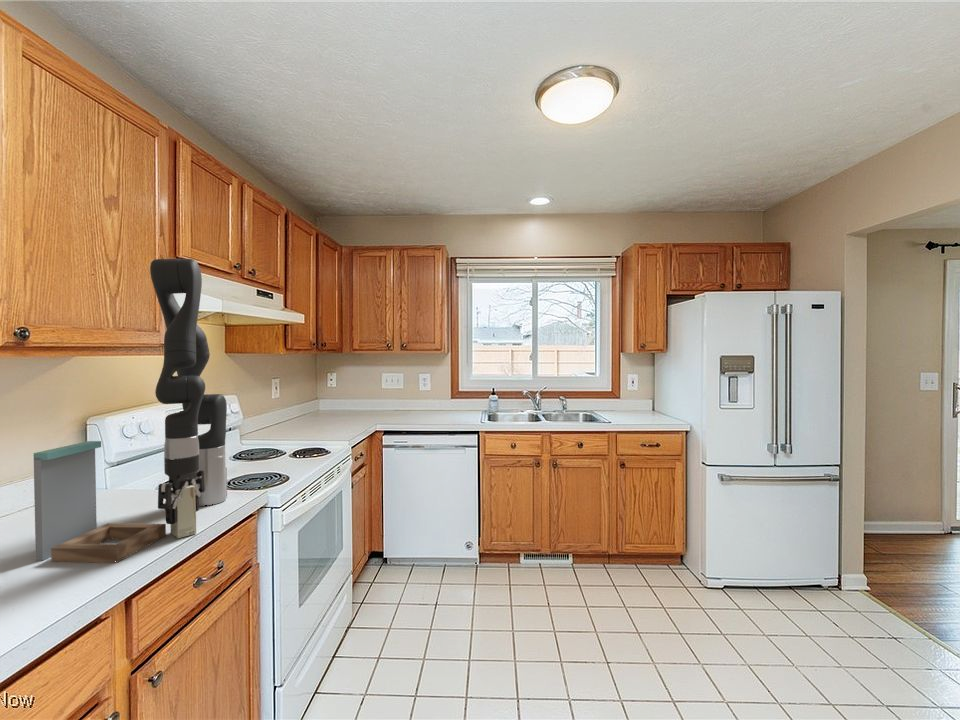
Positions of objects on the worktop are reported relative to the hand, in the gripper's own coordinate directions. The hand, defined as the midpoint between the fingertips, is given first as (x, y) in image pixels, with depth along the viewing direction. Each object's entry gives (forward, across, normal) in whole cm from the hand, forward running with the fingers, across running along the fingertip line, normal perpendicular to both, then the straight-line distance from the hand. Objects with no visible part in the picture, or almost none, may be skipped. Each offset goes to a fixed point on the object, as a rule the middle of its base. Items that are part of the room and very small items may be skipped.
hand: (183, 517), depth 119 cm
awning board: (+4, +9, -22) cm, 24 cm away
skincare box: (+4, 0, 0) cm, 4 cm away
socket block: (+4, +9, -11) cm, 15 cm away
